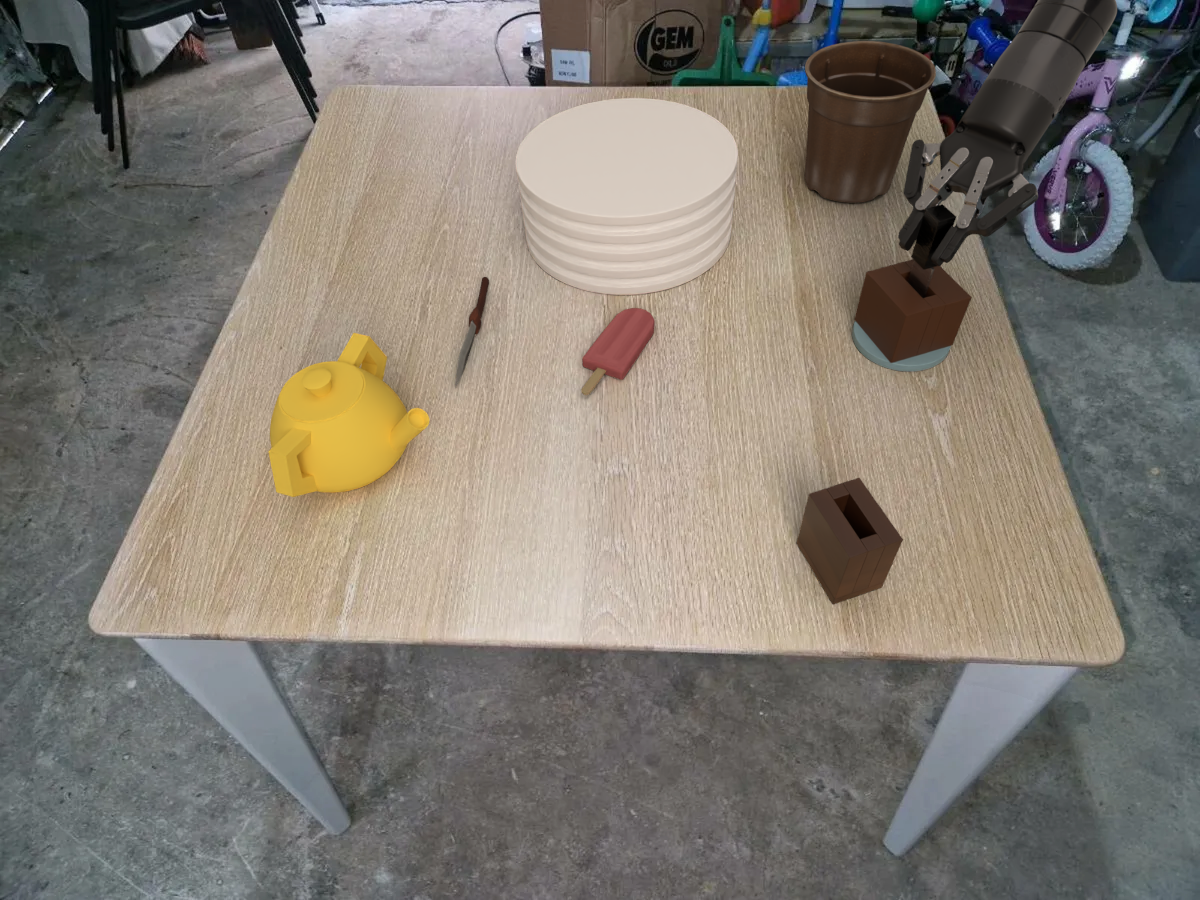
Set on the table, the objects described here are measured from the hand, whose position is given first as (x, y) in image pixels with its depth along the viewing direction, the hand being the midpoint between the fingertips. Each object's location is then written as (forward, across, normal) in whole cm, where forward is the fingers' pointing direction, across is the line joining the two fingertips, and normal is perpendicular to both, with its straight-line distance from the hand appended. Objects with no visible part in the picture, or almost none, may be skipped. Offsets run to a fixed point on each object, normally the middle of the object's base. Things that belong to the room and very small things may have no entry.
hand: (919, 254), depth 82 cm
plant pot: (-9, -24, +27) cm, 37 cm away
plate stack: (+12, -39, +6) cm, 41 cm away
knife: (+33, -37, -14) cm, 51 cm away
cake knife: (+7, 0, +10) cm, 12 cm away
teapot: (+46, -31, -27) cm, 62 cm away
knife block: (+29, +13, -11) cm, 34 cm away
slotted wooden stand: (+8, 0, +11) cm, 13 cm away
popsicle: (+26, -22, -7) cm, 34 cm away
